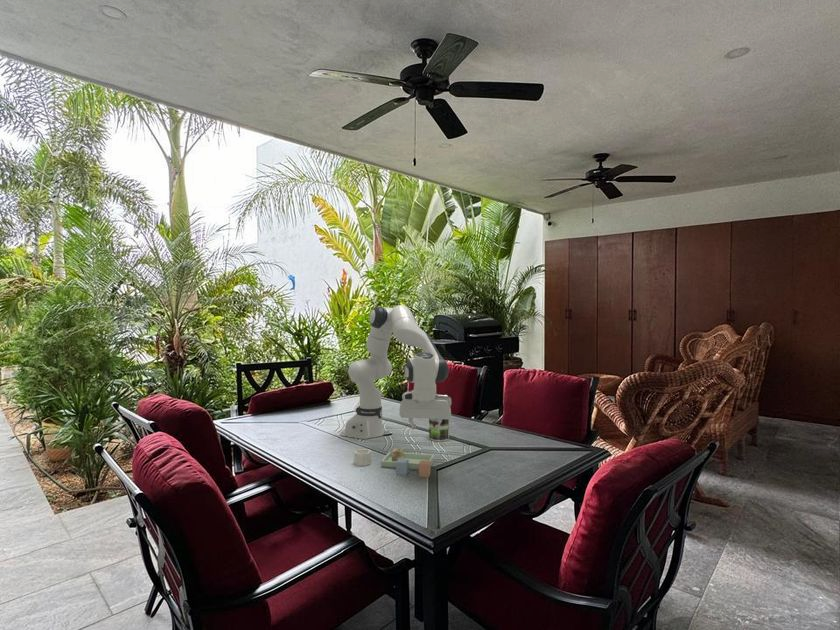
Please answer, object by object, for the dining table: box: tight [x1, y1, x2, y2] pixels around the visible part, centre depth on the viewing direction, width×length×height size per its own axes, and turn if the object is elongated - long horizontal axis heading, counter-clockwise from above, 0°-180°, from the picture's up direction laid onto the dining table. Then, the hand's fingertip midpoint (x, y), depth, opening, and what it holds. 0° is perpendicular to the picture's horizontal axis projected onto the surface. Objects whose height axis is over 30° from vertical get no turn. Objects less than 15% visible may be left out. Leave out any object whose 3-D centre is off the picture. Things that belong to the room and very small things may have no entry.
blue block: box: [395, 459, 409, 476], centre depth 174 cm, size 4×4×5 cm
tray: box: [380, 451, 435, 471], centre depth 183 cm, size 20×12×3 cm, turn 78°
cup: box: [353, 448, 372, 467], centre depth 184 cm, size 7×7×5 cm
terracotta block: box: [418, 460, 432, 478], centre depth 172 cm, size 4×4×5 cm
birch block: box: [391, 447, 405, 462], centre depth 184 cm, size 4×4×5 cm
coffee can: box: [428, 418, 450, 442], centre depth 219 cm, size 10×10×14 cm
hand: (425, 429), depth 171 cm, fingers open, 8 cm apart
